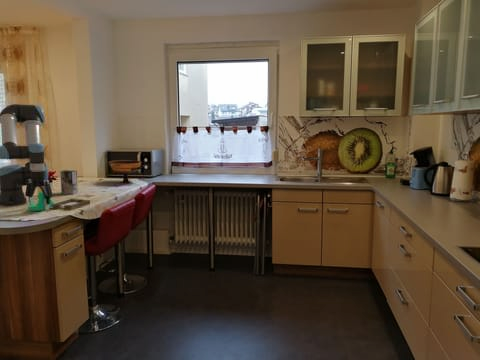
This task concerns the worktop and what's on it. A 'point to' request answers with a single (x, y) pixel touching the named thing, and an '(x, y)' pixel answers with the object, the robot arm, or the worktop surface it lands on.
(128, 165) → the footed fruit bowl
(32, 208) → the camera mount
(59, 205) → the pocket tray
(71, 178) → the coffee box
